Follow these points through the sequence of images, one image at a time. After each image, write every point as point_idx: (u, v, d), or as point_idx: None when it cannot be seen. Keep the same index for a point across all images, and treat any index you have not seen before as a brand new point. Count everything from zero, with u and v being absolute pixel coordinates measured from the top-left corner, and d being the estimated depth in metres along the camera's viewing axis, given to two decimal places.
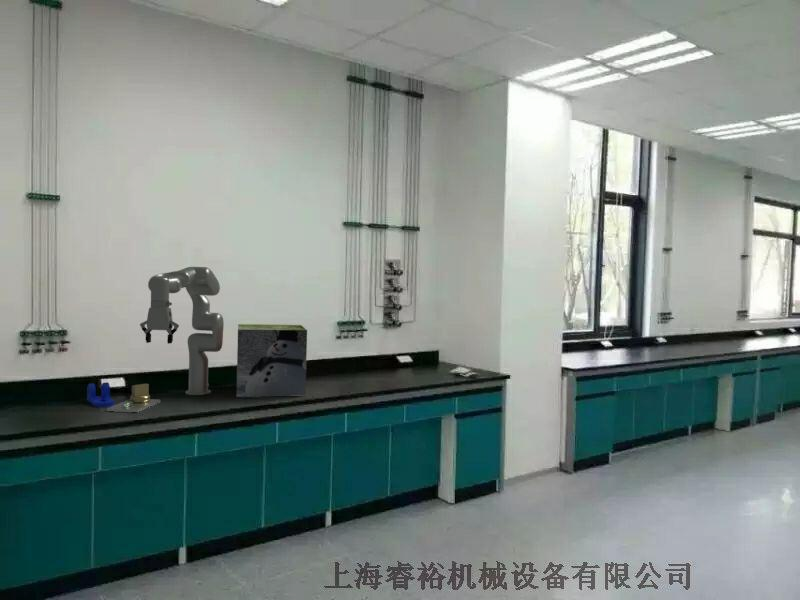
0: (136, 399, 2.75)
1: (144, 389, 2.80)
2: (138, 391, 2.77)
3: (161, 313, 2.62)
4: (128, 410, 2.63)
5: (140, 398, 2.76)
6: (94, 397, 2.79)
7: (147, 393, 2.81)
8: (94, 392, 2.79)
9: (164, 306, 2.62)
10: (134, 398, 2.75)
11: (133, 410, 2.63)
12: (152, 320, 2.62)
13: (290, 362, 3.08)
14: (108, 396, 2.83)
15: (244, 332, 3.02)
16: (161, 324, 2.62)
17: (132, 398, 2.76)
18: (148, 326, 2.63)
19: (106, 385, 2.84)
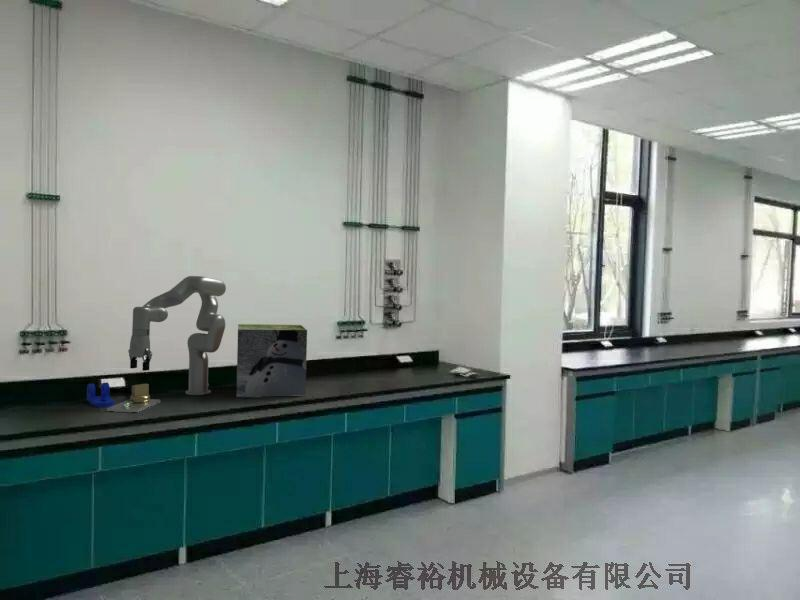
0: (136, 399, 2.75)
1: (144, 389, 2.80)
2: (138, 391, 2.77)
3: None
4: (128, 410, 2.63)
5: (140, 398, 2.76)
6: (94, 397, 2.79)
7: (147, 393, 2.81)
8: (94, 392, 2.79)
9: None
10: (134, 398, 2.75)
11: (133, 410, 2.63)
12: None
13: (290, 362, 3.08)
14: (108, 396, 2.83)
15: (244, 332, 3.02)
16: None
17: (132, 398, 2.76)
18: None
19: (106, 385, 2.84)
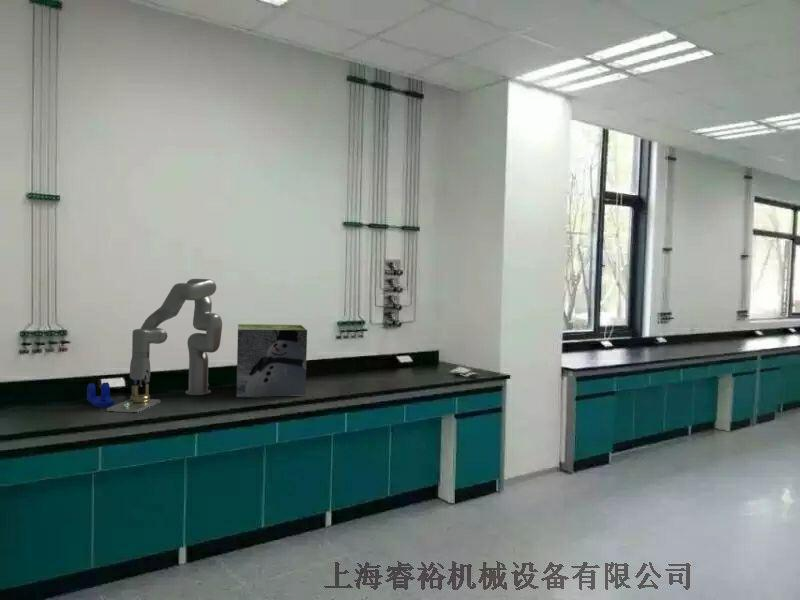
0: (136, 399, 2.75)
1: None
2: (138, 391, 2.77)
3: None
4: (128, 410, 2.63)
5: (140, 398, 2.76)
6: (94, 397, 2.79)
7: (147, 393, 2.81)
8: (94, 392, 2.79)
9: None
10: (134, 398, 2.75)
11: (133, 410, 2.63)
12: None
13: (290, 362, 3.08)
14: (108, 396, 2.83)
15: (244, 332, 3.02)
16: None
17: (132, 398, 2.76)
18: None
19: (106, 385, 2.84)
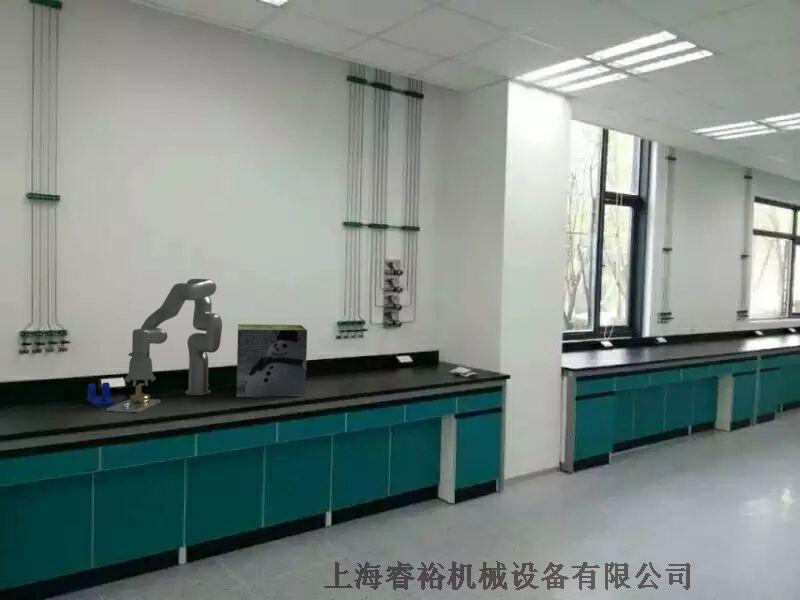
0: (143, 398, 2.76)
1: (143, 389, 2.81)
2: (142, 391, 2.78)
3: None
4: (128, 410, 2.63)
5: (147, 397, 2.78)
6: (94, 397, 2.79)
7: None
8: (94, 392, 2.79)
9: None
10: (141, 398, 2.76)
11: (133, 410, 2.63)
12: None
13: (290, 362, 3.08)
14: (108, 396, 2.83)
15: (244, 332, 3.02)
16: None
17: (138, 398, 2.75)
18: None
19: (106, 385, 2.84)
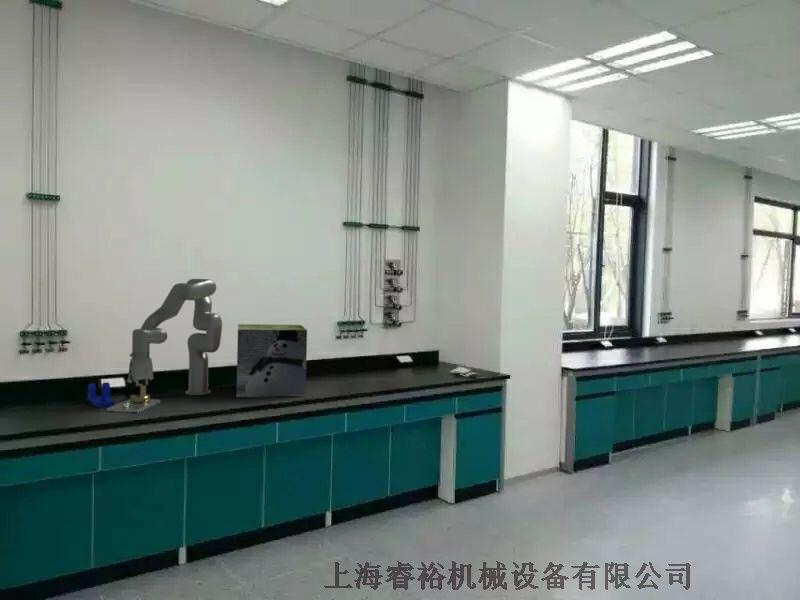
0: (148, 398, 2.79)
1: None
2: None
3: None
4: (128, 410, 2.63)
5: (149, 396, 2.80)
6: (94, 397, 2.79)
7: None
8: (94, 392, 2.80)
9: (132, 356, 2.77)
10: (146, 397, 2.78)
11: (133, 410, 2.63)
12: None
13: (290, 362, 3.08)
14: (108, 396, 2.83)
15: (244, 332, 3.02)
16: None
17: (144, 398, 2.77)
18: None
19: (106, 385, 2.84)
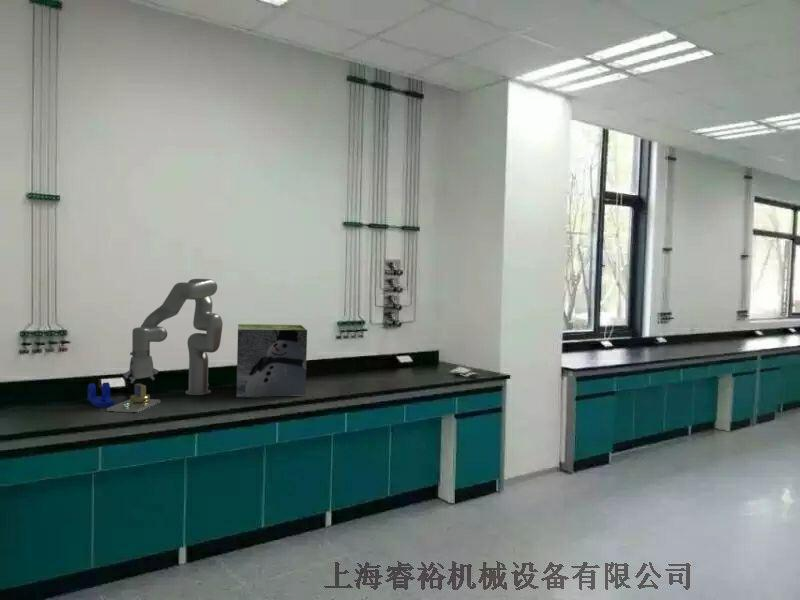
0: (148, 398, 2.79)
1: None
2: None
3: None
4: (128, 410, 2.63)
5: (149, 396, 2.80)
6: (94, 397, 2.79)
7: None
8: (94, 392, 2.80)
9: (132, 355, 2.77)
10: (146, 397, 2.78)
11: (133, 410, 2.63)
12: None
13: (290, 362, 3.08)
14: (108, 396, 2.83)
15: (244, 332, 3.02)
16: None
17: (144, 398, 2.77)
18: None
19: (106, 385, 2.84)
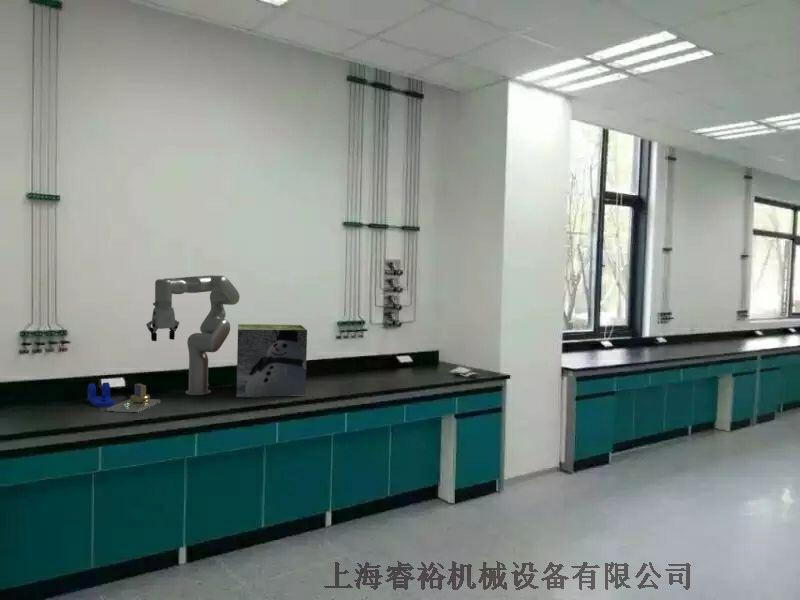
0: (148, 398, 2.79)
1: None
2: None
3: None
4: (128, 410, 2.63)
5: (149, 396, 2.80)
6: (94, 397, 2.79)
7: None
8: (94, 392, 2.79)
9: (155, 306, 2.84)
10: (146, 397, 2.78)
11: (133, 410, 2.63)
12: None
13: (290, 362, 3.08)
14: (108, 396, 2.83)
15: (244, 332, 3.02)
16: None
17: (144, 398, 2.77)
18: None
19: (106, 385, 2.84)
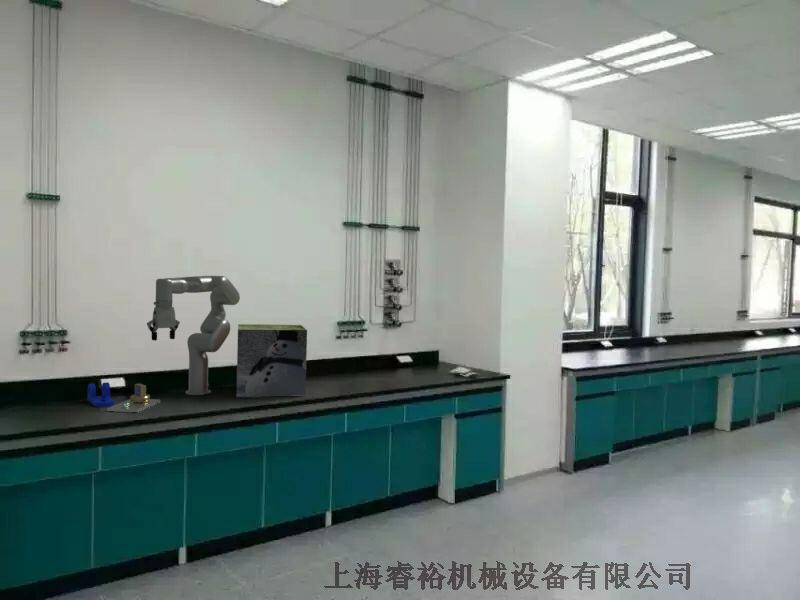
0: (148, 398, 2.79)
1: None
2: None
3: None
4: (128, 410, 2.63)
5: (149, 396, 2.80)
6: (94, 397, 2.79)
7: None
8: (94, 392, 2.79)
9: None
10: (146, 397, 2.78)
11: (133, 410, 2.63)
12: None
13: (290, 362, 3.08)
14: (108, 396, 2.83)
15: (244, 332, 3.02)
16: None
17: (144, 398, 2.77)
18: None
19: (106, 385, 2.84)
